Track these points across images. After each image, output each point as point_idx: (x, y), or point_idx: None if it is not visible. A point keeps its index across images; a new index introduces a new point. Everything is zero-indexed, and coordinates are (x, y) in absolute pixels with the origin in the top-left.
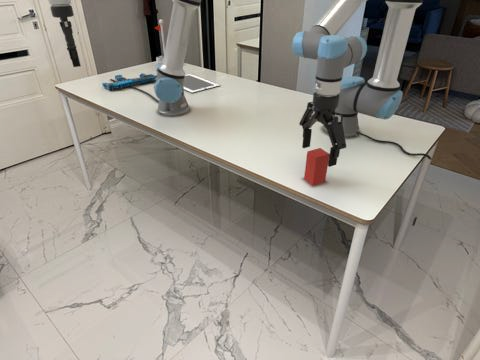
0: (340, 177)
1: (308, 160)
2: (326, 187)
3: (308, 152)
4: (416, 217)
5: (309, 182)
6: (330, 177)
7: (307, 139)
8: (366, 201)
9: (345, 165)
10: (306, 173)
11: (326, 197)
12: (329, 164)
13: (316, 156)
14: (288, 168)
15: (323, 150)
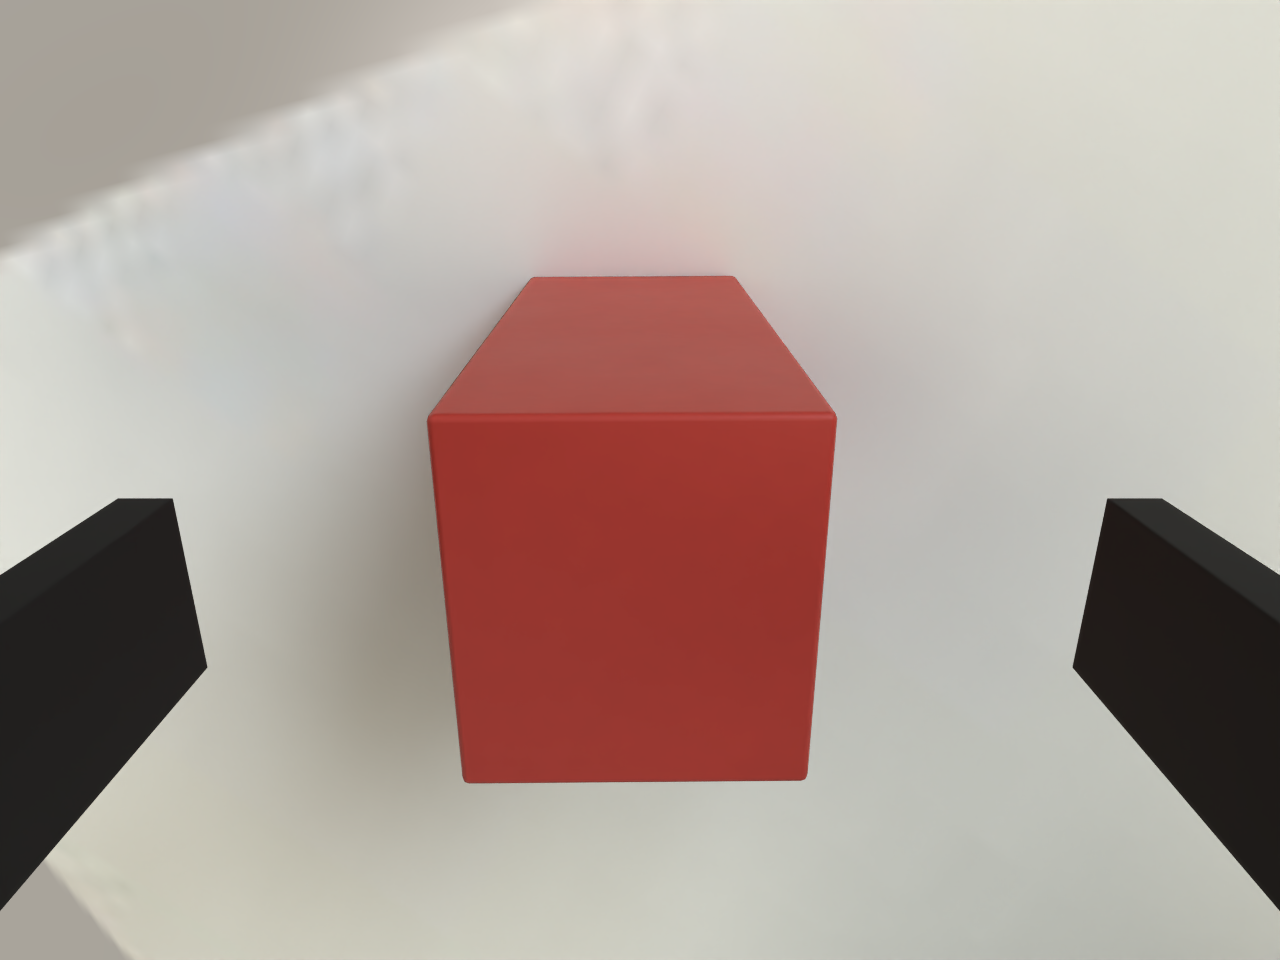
0: None
1: (713, 354)
2: None
3: (778, 410)
4: None
5: (603, 279)
6: None
7: (1229, 715)
8: None
9: (731, 889)
10: (701, 296)
11: (223, 279)
12: (92, 523)
13: (479, 455)
14: (1099, 244)
15: (663, 766)
